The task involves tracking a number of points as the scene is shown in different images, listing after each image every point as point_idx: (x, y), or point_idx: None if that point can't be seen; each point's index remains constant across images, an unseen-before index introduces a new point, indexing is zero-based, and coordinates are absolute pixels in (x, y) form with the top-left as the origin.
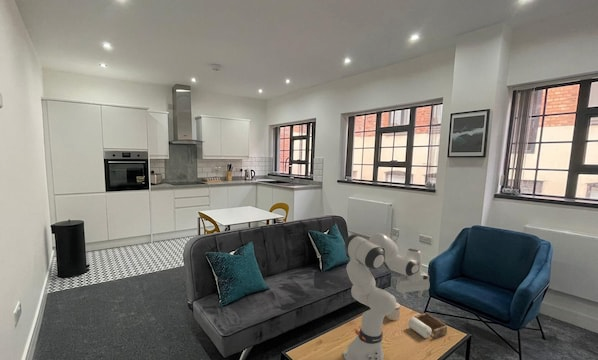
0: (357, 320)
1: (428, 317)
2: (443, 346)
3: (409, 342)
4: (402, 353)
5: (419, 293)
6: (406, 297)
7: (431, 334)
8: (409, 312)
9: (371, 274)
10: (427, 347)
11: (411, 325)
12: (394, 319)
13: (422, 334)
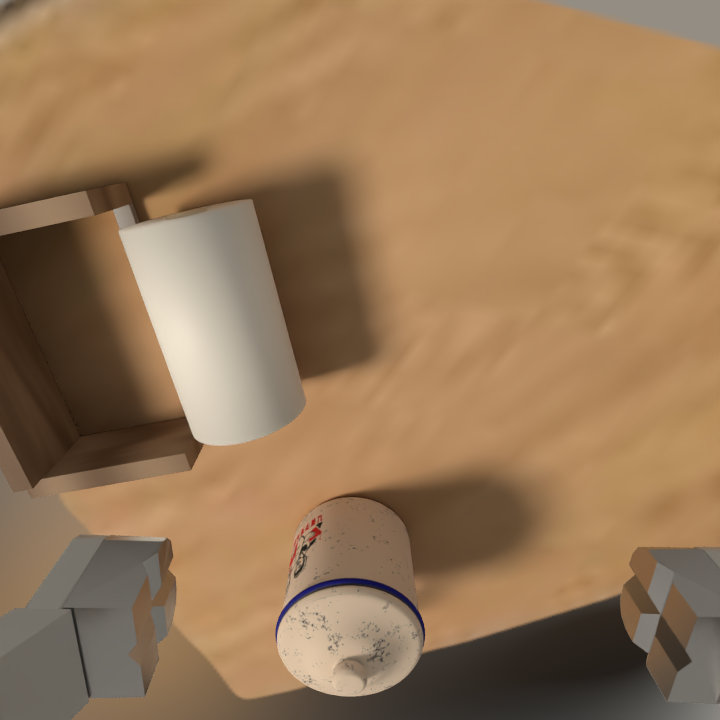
0: None
1: (32, 437)
2: (105, 38)
3: (431, 186)
4: (620, 40)
5: (77, 670)
6: (693, 573)
7: None
8: None
9: None
10: (293, 66)
11: (294, 364)
12: (369, 504)
13: (256, 215)
